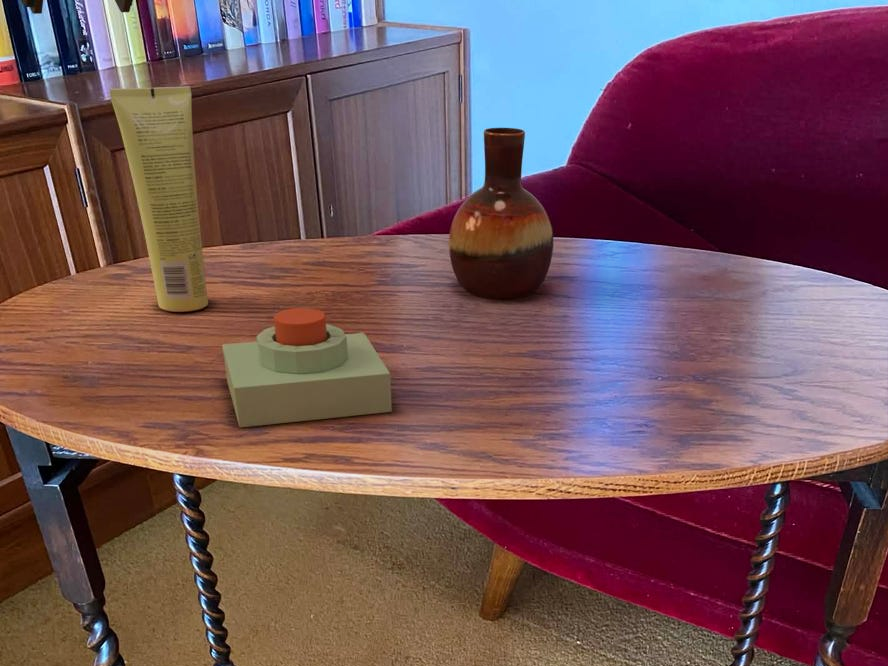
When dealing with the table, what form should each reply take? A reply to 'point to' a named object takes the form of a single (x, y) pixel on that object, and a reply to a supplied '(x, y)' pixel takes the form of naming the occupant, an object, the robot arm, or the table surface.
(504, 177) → the vase
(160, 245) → the tube
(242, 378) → the push button base
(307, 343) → the red push button
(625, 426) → the table surface
